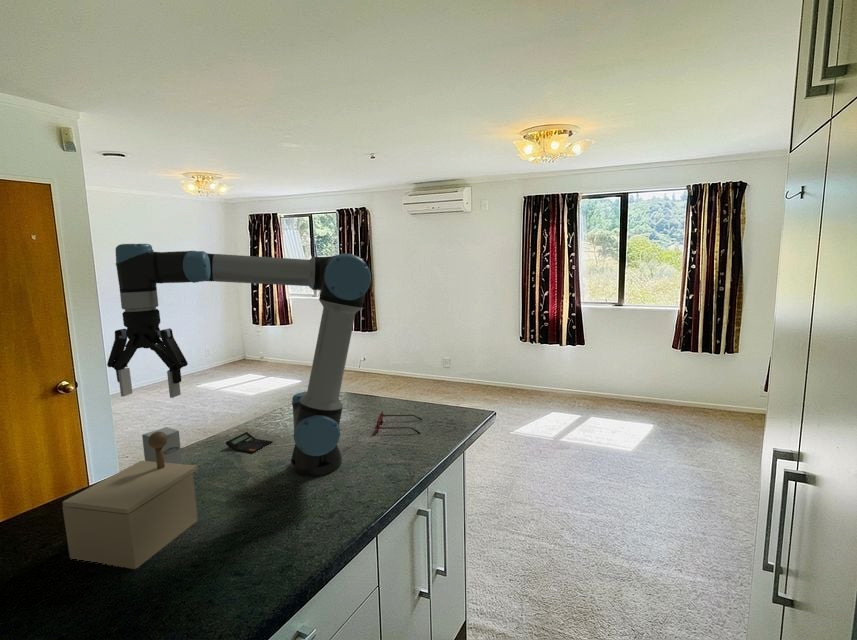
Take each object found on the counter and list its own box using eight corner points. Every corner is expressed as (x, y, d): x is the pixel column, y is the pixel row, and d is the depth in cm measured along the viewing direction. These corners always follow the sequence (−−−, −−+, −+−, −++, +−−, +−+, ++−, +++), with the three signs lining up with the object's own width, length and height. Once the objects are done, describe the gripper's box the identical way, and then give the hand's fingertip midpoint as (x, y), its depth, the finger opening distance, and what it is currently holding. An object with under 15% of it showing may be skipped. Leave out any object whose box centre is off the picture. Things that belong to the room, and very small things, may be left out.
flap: (198, 469, 112) (194, 430, 111) (127, 513, 93) (121, 467, 92) (141, 464, 116) (137, 426, 115) (63, 506, 97) (56, 461, 96)
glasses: (380, 421, 178) (379, 409, 177) (423, 421, 177) (422, 408, 176) (374, 435, 164) (374, 421, 163) (420, 434, 163) (420, 421, 163)
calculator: (253, 454, 151) (252, 445, 150) (226, 450, 155) (225, 441, 154) (272, 443, 159) (272, 435, 159) (246, 439, 163) (245, 431, 163)
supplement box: (159, 480, 134) (154, 438, 132) (145, 474, 138) (141, 434, 136) (183, 469, 140) (179, 430, 138) (170, 464, 144) (166, 426, 142)
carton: (197, 520, 112) (192, 474, 110) (135, 569, 95) (128, 514, 93) (139, 513, 116) (134, 468, 114) (70, 559, 99) (62, 506, 97)
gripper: (197, 306, 111) (206, 392, 114) (109, 308, 116) (119, 390, 118) (175, 310, 104) (185, 401, 107) (82, 311, 108) (93, 398, 111)
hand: (150, 395), depth 112 cm, fingers open, 13 cm apart
